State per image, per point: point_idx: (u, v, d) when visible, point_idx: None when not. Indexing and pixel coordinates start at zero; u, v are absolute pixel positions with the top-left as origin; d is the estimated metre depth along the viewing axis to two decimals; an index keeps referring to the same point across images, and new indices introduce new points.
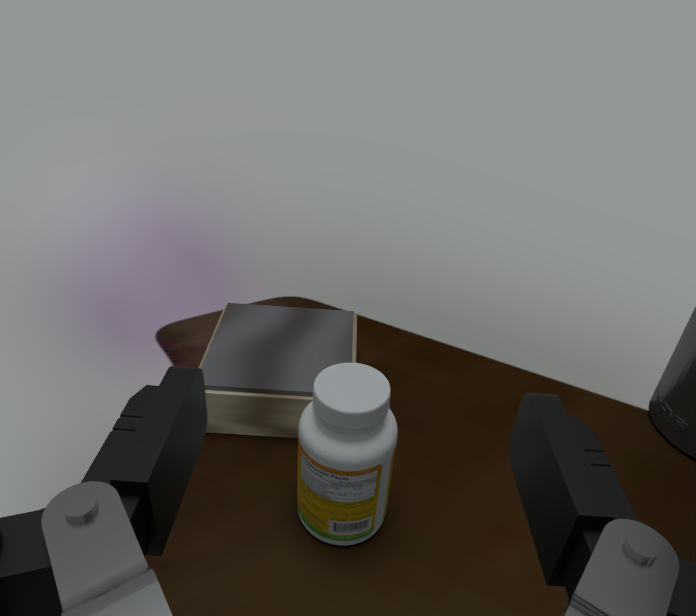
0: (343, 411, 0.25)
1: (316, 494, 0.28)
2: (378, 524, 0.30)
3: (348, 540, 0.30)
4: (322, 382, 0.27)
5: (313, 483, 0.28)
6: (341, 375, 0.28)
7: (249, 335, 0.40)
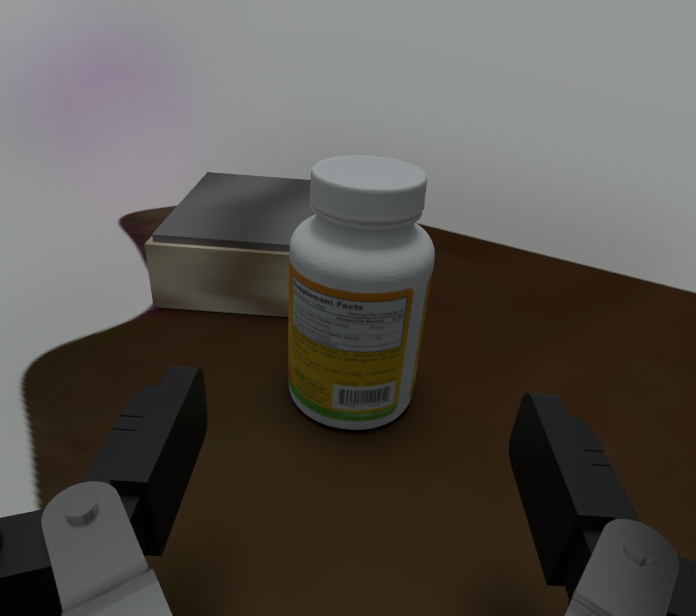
0: (356, 188, 0.16)
1: (314, 343, 0.19)
2: (403, 402, 0.21)
3: (360, 419, 0.20)
4: (324, 166, 0.18)
5: (310, 325, 0.19)
6: (353, 162, 0.19)
7: (231, 197, 0.31)
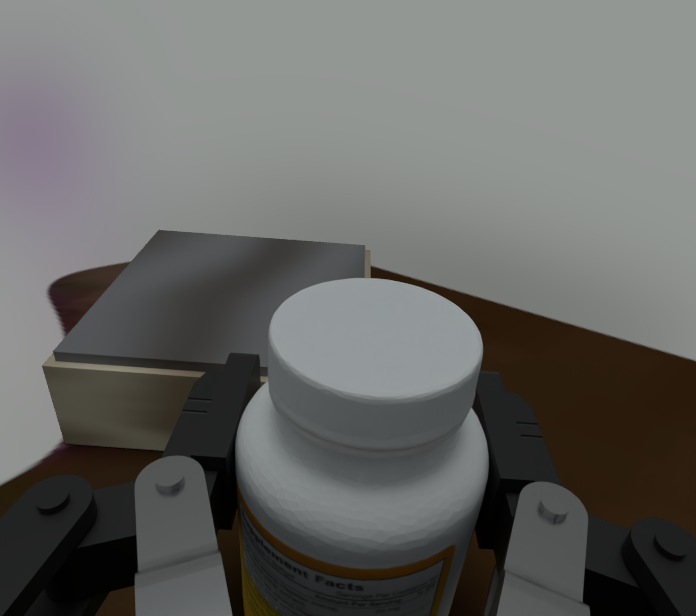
0: (350, 393, 0.08)
1: (278, 614, 0.11)
2: None
3: None
4: (294, 317, 0.10)
5: (270, 588, 0.11)
6: (346, 302, 0.10)
7: (183, 274, 0.23)
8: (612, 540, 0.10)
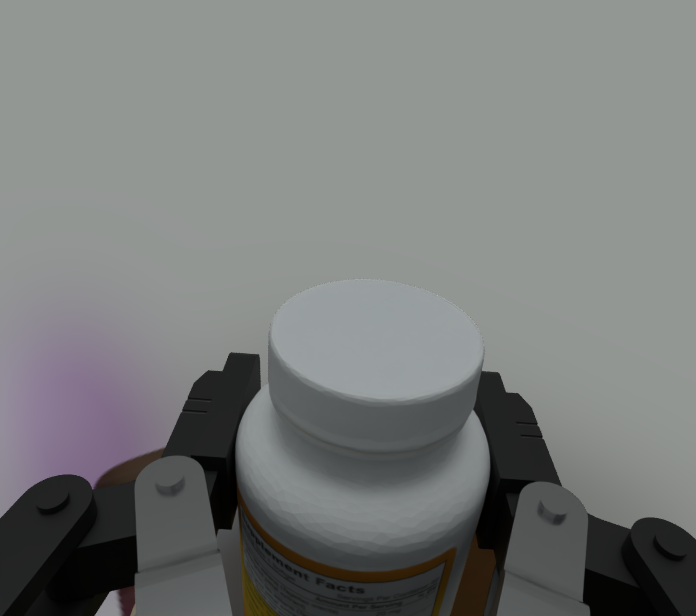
0: (351, 394, 0.08)
1: None
2: None
3: None
4: (295, 318, 0.10)
5: (271, 590, 0.11)
6: (348, 303, 0.10)
7: (222, 529, 0.25)
8: (612, 540, 0.10)
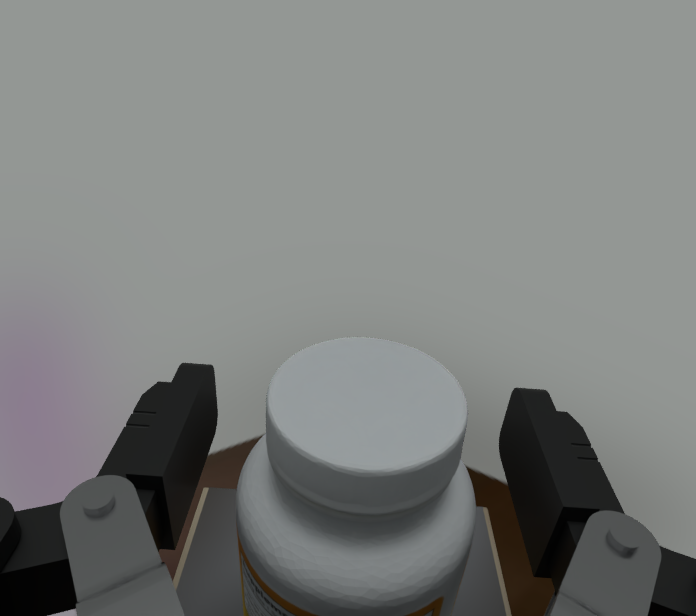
0: (342, 466, 0.09)
1: None
2: None
3: None
4: (290, 383, 0.11)
5: None
6: (340, 365, 0.11)
7: None
8: (684, 573, 0.09)
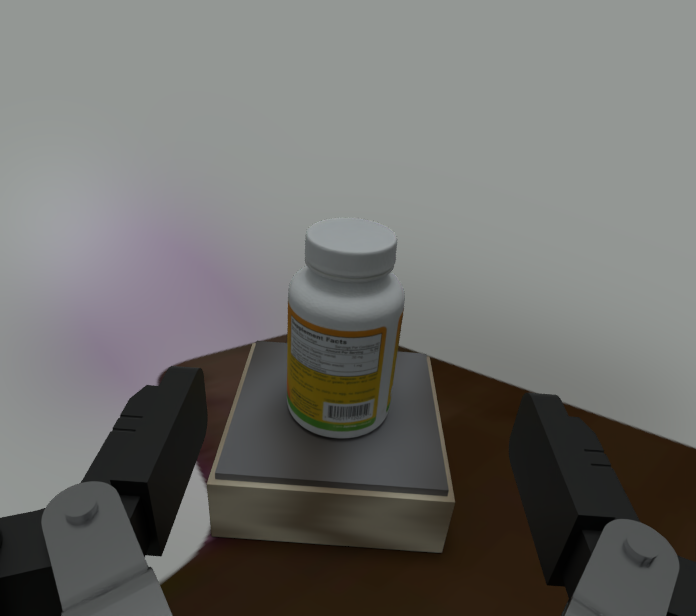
0: (340, 251, 0.21)
1: (308, 369, 0.24)
2: (381, 416, 0.26)
3: (346, 430, 0.25)
4: (316, 229, 0.23)
5: (305, 354, 0.24)
6: (339, 225, 0.24)
7: None
8: None
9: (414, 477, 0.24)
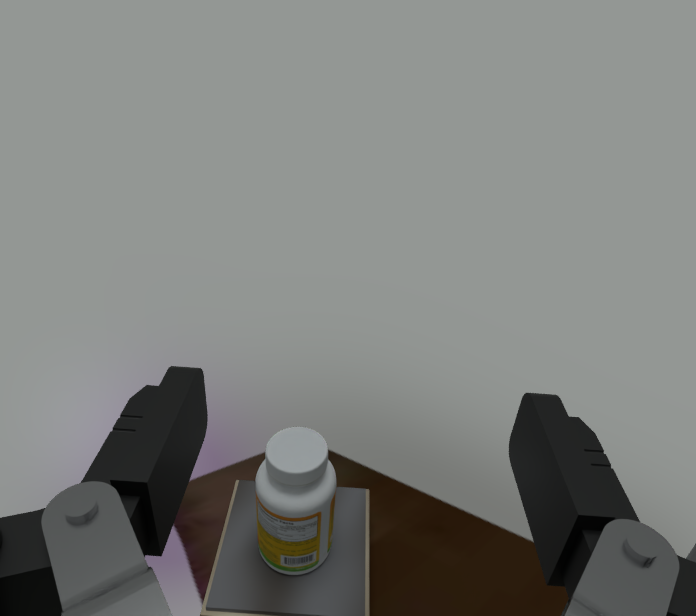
0: (286, 471, 0.32)
1: (269, 534, 0.35)
2: (323, 557, 0.37)
3: (297, 570, 0.36)
4: (273, 445, 0.34)
5: (267, 526, 0.35)
6: (289, 438, 0.34)
7: None
8: None
9: (342, 607, 0.35)
